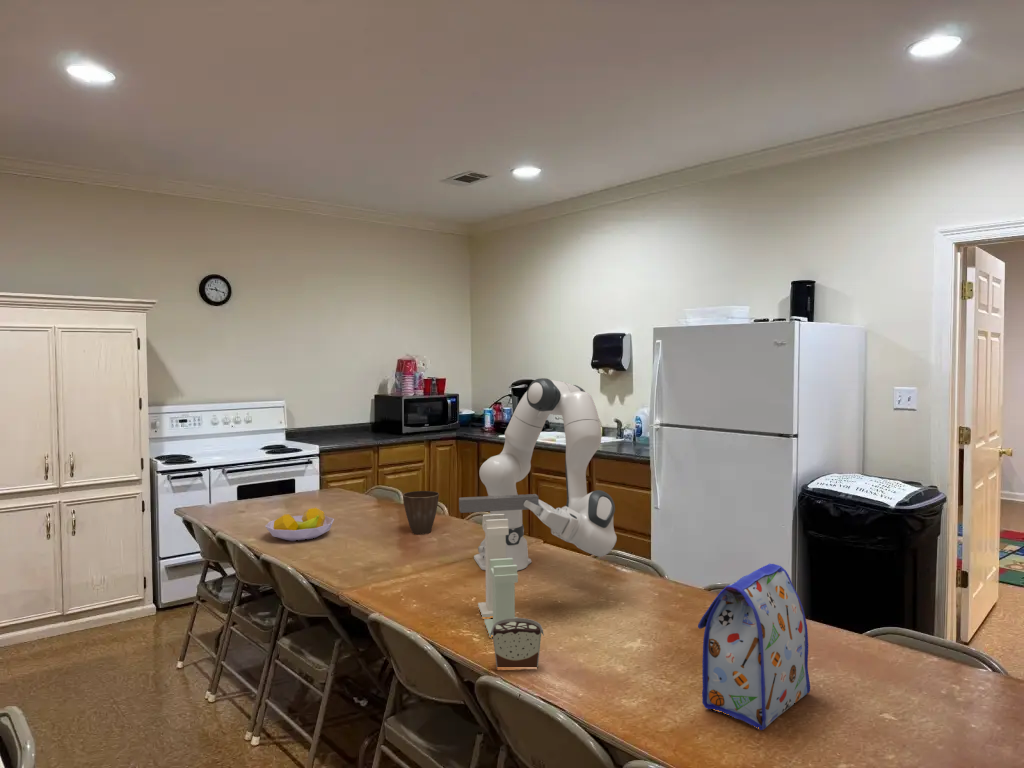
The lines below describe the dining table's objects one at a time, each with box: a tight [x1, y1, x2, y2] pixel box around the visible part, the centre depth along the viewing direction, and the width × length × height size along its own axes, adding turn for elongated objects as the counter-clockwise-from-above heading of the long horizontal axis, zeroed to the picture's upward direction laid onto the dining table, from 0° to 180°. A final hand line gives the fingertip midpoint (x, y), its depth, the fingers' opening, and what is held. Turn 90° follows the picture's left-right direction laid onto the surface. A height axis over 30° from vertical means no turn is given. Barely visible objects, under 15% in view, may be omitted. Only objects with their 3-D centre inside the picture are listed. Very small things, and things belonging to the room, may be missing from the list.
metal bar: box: [458, 493, 540, 514], centre depth 191 cm, size 22×4×4 cm, turn 101°
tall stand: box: [477, 513, 509, 618], centre depth 191 cm, size 9×9×27 cm
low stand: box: [483, 558, 519, 637], centre depth 178 cm, size 9×9×18 cm
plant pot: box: [402, 490, 440, 535], centre depth 282 cm, size 15×15×16 cm
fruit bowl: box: [265, 506, 335, 542], centre depth 276 cm, size 28×27×11 cm
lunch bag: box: [697, 563, 811, 731], centre depth 141 cm, size 23×17×27 cm
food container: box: [490, 617, 545, 668], centre depth 158 cm, size 12×6×10 cm, turn 92°
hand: (522, 500), depth 192 cm, fingers closed on metal bar, 3 cm apart
